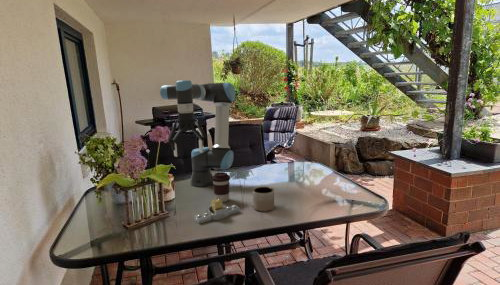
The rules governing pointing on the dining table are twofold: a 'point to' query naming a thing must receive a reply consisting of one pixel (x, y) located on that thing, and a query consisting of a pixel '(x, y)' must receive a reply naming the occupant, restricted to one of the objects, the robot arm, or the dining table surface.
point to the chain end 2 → (229, 210)
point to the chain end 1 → (208, 215)
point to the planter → (263, 198)
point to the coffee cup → (221, 186)
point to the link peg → (216, 204)
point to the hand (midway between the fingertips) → (188, 154)
